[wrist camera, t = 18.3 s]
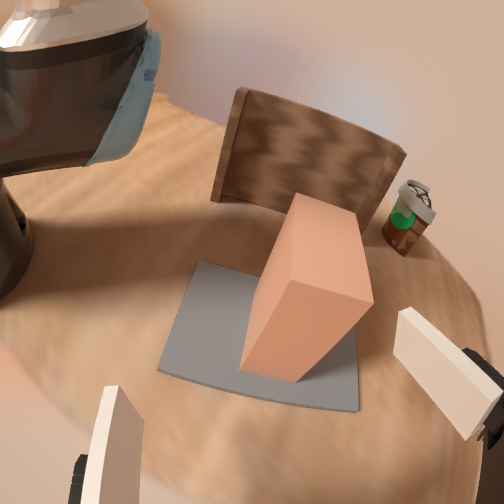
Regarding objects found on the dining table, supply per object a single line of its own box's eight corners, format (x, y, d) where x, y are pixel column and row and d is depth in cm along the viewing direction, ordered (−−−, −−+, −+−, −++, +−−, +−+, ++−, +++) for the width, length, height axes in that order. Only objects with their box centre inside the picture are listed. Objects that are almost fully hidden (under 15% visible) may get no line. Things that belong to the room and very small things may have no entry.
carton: (239, 370, 22) (290, 279, 14) (254, 290, 29) (296, 192, 21) (295, 382, 23) (374, 303, 15) (300, 303, 29) (355, 213, 21)
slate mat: (157, 370, 21) (157, 368, 20) (198, 263, 30) (199, 259, 30) (355, 412, 22) (358, 411, 21) (350, 306, 32) (352, 303, 31)
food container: (379, 212, 52) (403, 170, 45) (405, 227, 51) (430, 187, 44) (373, 243, 43) (404, 193, 36) (403, 261, 42) (437, 214, 35)
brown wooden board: (210, 200, 39) (236, 90, 29) (216, 188, 42) (241, 86, 31) (354, 246, 41) (406, 154, 30) (351, 232, 43) (398, 145, 33)
